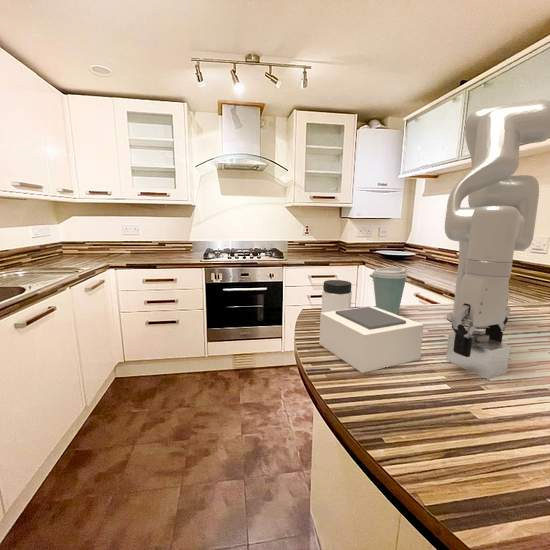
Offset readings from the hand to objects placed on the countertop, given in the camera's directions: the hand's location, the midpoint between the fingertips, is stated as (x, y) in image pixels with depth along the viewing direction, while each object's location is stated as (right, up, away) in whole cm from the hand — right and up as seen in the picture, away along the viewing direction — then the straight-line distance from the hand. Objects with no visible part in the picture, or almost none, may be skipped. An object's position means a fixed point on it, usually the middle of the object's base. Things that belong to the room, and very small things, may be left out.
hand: (477, 351), depth 65 cm
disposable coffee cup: (-5, +3, +38) cm, 38 cm away
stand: (-20, -2, +8) cm, 22 cm away
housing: (0, -4, +1) cm, 4 cm away
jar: (-24, +2, +29) cm, 38 cm away
